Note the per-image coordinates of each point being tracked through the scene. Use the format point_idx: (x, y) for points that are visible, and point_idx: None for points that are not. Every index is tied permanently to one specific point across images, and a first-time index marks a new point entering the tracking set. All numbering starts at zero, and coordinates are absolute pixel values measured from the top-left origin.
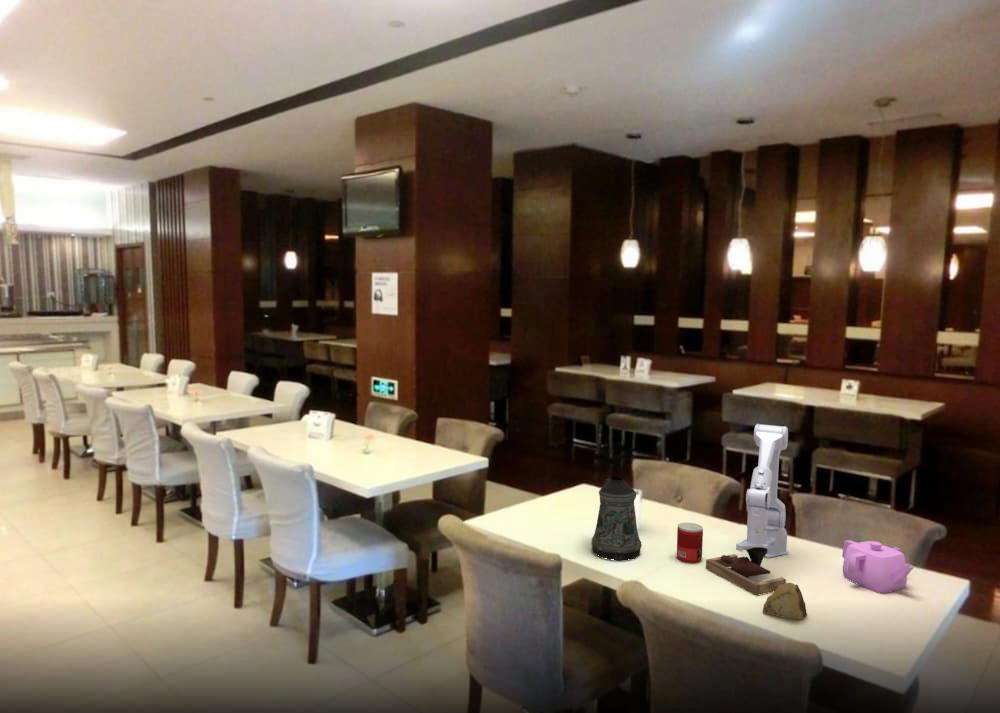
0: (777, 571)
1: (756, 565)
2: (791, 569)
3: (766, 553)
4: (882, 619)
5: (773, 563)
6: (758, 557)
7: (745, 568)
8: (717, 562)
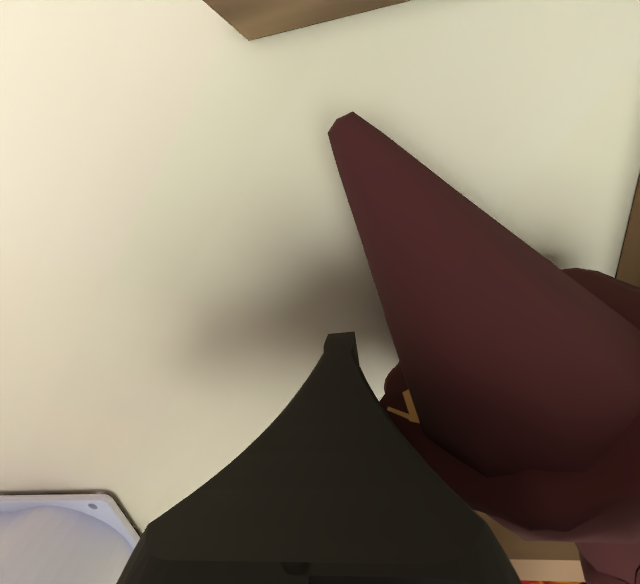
0: (126, 348)
1: (489, 311)
2: (12, 347)
3: (182, 503)
4: None
5: (103, 440)
6: (393, 451)
7: (632, 328)
8: None
